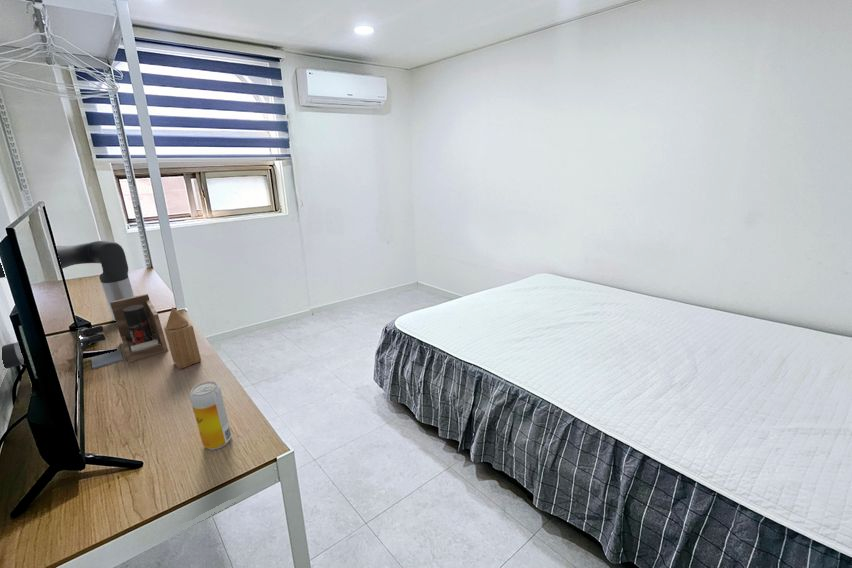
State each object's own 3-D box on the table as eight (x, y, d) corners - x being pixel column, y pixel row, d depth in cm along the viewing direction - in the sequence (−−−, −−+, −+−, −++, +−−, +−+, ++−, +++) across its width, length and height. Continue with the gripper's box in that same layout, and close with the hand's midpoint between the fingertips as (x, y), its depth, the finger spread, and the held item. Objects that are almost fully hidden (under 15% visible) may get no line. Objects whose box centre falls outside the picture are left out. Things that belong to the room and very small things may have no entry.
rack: (122, 341, 145) (109, 301, 140) (158, 332, 152) (147, 293, 147) (128, 362, 131) (114, 318, 125) (168, 350, 138) (156, 308, 132)
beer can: (210, 434, 96) (196, 381, 91) (236, 432, 96) (223, 379, 91) (198, 452, 90) (183, 397, 85) (226, 450, 90) (212, 394, 85)
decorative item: (173, 363, 129) (157, 307, 123) (195, 355, 134) (181, 300, 127) (179, 370, 125) (163, 312, 118) (202, 361, 129) (188, 305, 123)
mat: (91, 359, 134) (91, 357, 133) (120, 351, 139) (119, 349, 138) (92, 369, 127) (92, 367, 127) (123, 360, 132) (122, 358, 132)
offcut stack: (132, 354, 136) (130, 346, 135) (159, 346, 141) (157, 338, 140) (133, 358, 133) (131, 350, 132) (161, 350, 138) (159, 342, 137)
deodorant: (158, 342, 144) (147, 304, 139) (146, 350, 138) (134, 311, 133) (143, 342, 144) (132, 304, 140) (130, 350, 139) (118, 311, 134)
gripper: (32, 345, 116) (101, 328, 126) (35, 330, 127) (99, 315, 136) (42, 367, 119) (108, 349, 129) (44, 351, 129) (105, 335, 139)
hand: (103, 332), depth 133 cm, fingers open, 8 cm apart
